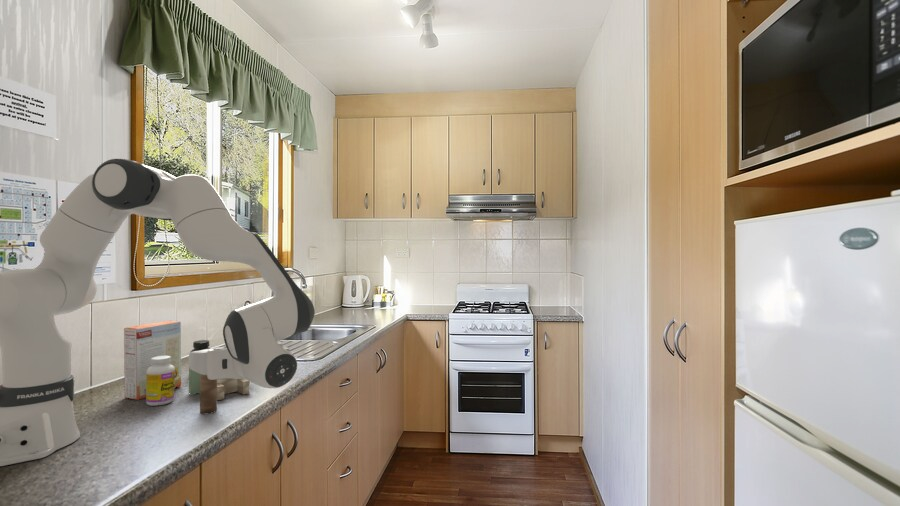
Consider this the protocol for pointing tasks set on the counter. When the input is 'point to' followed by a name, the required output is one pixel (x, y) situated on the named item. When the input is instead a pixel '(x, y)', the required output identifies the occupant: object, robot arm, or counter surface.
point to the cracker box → (149, 353)
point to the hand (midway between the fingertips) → (226, 349)
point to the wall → (194, 382)
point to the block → (232, 386)
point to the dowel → (208, 394)
